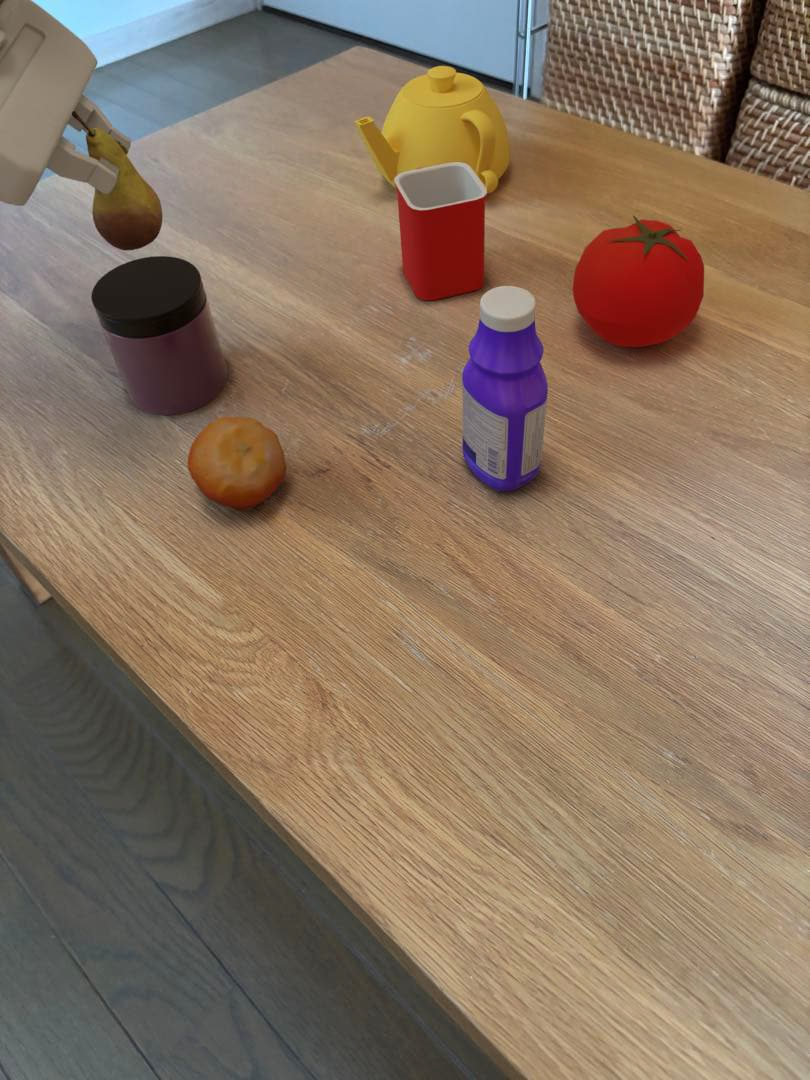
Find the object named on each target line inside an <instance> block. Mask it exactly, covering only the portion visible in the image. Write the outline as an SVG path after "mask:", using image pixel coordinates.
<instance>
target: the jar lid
mask: <svg viewBox="0 0 810 1080" xmlns="http://www.w3.org/2000/svg"><path fill="white" fill-rule="evenodd" d="M205 293H206V290H205V287H204V283H203V280H202V276H201V273H200V271H199V269H198V268H197V267H196V266H195V265H194V264H193V263H191V262H190V261H187V260H186V259H183V258H181V257H175V256H169V255H168V256H167V255H158V256H156V255H155V256H147V257H141V258H137V259H133V260H130V261H127V262H125V263H122V264H120V265H118V266H116V267H114V268H112V269H110V270H109V271H107V272H106V273H105V274H104V275H103V276H101V277H100V279H98V281H97V282H96V283H95V284H94V286H93V288H92V291H91V297H90V298H91V302H92V305H93V308H94V310H95V313H96V315H97V318H98V321H99V320H100V322H101V324H102V325H103V326H104V327H105V328H106V329H108V330H110V331H111V332H114V333H116V334H119V335H124V336H132V337H144V336H152V335H157V334H161V333H165V332H168V331H171V330H173V329H176V328H178V327H180V326H182V325H183V324H185V323H187V322H188V321H190V320H191V319H192V318H193V317H195V316H196V315H197V314H198V312H199V311H200V310H201V308H202V307H203V305H204V302H205ZM100 322H99V323H100ZM101 324H100V325H101Z"/></svg>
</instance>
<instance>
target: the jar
mask: <svg viewBox="0 0 810 1080" xmlns="http://www.w3.org/2000/svg"><path fill="white" fill-rule="evenodd" d="M98 322H99V324H100V327H101V330H102V331H103V334H104V338H105V340H106V342H107V344H108V347H109V349H110V352H111V354H112V357H113V359H114V362H115V365H116V367H117V370H118V372H119V374H120V377H121V380H122V383H123V385H124V387H125V391H126V393H127V395H128V398H129V399H130V402H132V404H133V405H134V406H136V408H138V409H140V410H141V411H144V412H146V413H149V414H153V415H158V416H159V415H160V416H174V415H181V414H185V413H189V412H192V411H195V410H198V409H200V408H201V407H204V406H205V405H207V404H209V403H210V402H212V401H213V400H214V399H216V397H218V396H219V395H220V394H221V393H222V391H223V390H224V388H225V387H226V384H227V382H228V376H229V375H228V374H229V372H228V369H227V365H226V361H225V357H224V354H223V350H222V346H221V342H220V340H219V339H220V338H219V336H218V331H217V328H216V324H215V321H214V318H213V314H212V310H211V307H210V303H209V299H208V296H207V293H206V292H205V302H204V305H203V307H202V308H201V310H200V311H199V312H198V314H197V315H196V316H195V317H193V318H192V319H191V320H190V321H188V322H187V323H185V324H183V325H182V326H180V327H178V328H176V329H173V330H171V331H168V332H165V333H161V334H157V335H152V336H144V337H132V336H124V335H119V334H116V333H114V332H111V331H110V330H108V329H106V328H105V327H104V326H103V325H102V324H101V322H100V320H99V319H98Z"/></svg>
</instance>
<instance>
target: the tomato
mask: <svg viewBox="0 0 810 1080" xmlns="http://www.w3.org/2000/svg"><path fill="white" fill-rule="evenodd" d="M631 216H632V217H633V219H634V221H635V222H634V223H632V224H630V225H628V226H625V227H614V228H608V229H604V230H601V232H599V234H598V235H597V236H595V237H594V238H593V239H592V240H591V241H590V242H589V244H587V245H586V246H585V247H584V249H583V252H582V254H580V255H581V256H580V258H579V259H578V262H577V264H576V266H575V268H574V274H573V282H572V294H573V295H572V296H573V301H574V304H575V306H576V309H577V311H578V313H579V315H580V316H581V317H582V319H583V320H584V321H585V323H586V324H587V325H588V326H589V327H590V329H591V330H592V331H593V332H594V333H595V334H596V335H598V336H599V337H600V338H601V339H603V340H604V341H606V342H607V343H609V344H612V345H616V346H618V347H621V348H622V347H623V348H641V347H647V346H653V345H658V344H662V343H665V342H667V341H669V340H670V339H672V338H673V337H676V336H677V335H680V333H682V332H683V331H684V330H686V329H687V328H688V327H689V326H690V325H691V324H692V322H693V321H694V320H695V318H696V317H697V314H698V312H699V309H700V308H701V304H702V301H703V299H704V293H705V292H704V291H705V290H704V289H705V264H704V260H703V257H702V255H701V254H700V252H699V250H698V249H697V247H696V246H695V244H694V243H693V241H692V240H691V239H688V238H685V237H682V236H681V235H680V234H679V233H678V232H680V231H681V229H675V228H674V226H672V225H671V224H668V223H666V222H662V221H659V220H656V219H655V220H653V219H652V220H651V219H638V218H637V217H636V216H635V215H634V214H633V215H631Z"/></svg>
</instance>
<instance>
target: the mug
mask: <svg viewBox="0 0 810 1080" xmlns="http://www.w3.org/2000/svg"><path fill="white" fill-rule="evenodd" d="M394 183H395V186H396V188H395V189H396V192H397V195H396V196H397V207H398V219H399V220H398V221H399V235H400V236H399V237H400V249H401V263H402V272H403V274H404V276H405V279H406V280H407V282H408V284H409V286H410V288H411V289H412V292H413V294H414V295H415V296H416V297H417V298H418V299H419V300H422V301H426V302H427V301H435V300H436V301H437V300H440V299H444V298H448V297H453V296H457V295H462V294H466V293H470V292H471V293H472V292H475V291H477V290H479V289H481V288H482V287H483V286H484V285H485V240H486V239H485V237H486V235H485V234H486V233H485V231H486V229H485V228H486V227H485V225H486V223H485V222H486V221H485V220H486V219H485V217H486V199H487V195H488V193H487V189H486V187H485V186H484V184H483V183H482V182H481V180H480V179H479V178H478V176H477V175H476V173H475V172H474V171H473V169H472V168H471V167H470V166H469V165H468V164H466V163H461V162H451V163H446V164H441V165H436V166H431V167H426V168H422V167H421V168H417V169H416V170H411V171H406V172H403V173H400V174H398V175H397V176H396V177H395V178H394Z"/></svg>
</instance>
